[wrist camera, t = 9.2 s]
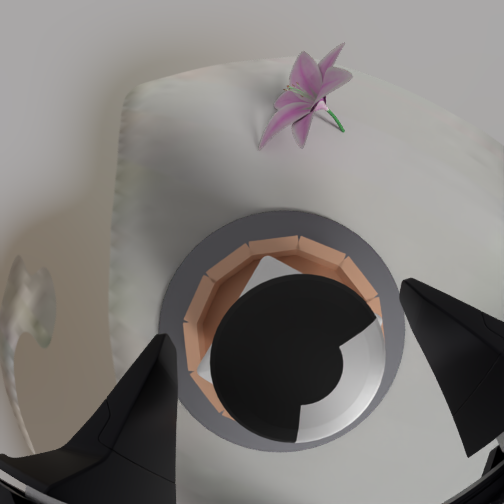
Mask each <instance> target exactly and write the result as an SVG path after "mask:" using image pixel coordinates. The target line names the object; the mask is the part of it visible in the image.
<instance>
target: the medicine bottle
mask: <svg viewBox="0 0 504 504" xmlns="http://www.w3.org/2000/svg"><path fill="white" fill-rule="evenodd" d="M381 325H382V318H381V317H380V316H379V315H378V314H376V313H374V312H373V311H372V309H371V307H370V306H369V305H368V304H367V303H366V301H365V300H364V299H363V298H362V297H361V296H360V295H358V294H357V293H356V292H355V291H354V290H352V289H351V288H349V287H348V286H346V285H344V284H342V283H340V282H338V281H336V280H334V279H331V278H327V277H324V276H320V275H313V274H303V273H301V272H299V271H297V270H295V269H293V268H292V267H290V266H288V265H286V264H284V263H282V262H281V261H279V260H277V259H275V258H273V257H271V256H265V257H263V258H262V259H261V261H260V262H259V264H258V266H257V268H256V269H255V271H254V273H253V275H252V276H251V278H250V280H249V281H248V283H247V285H246V286H245V288H244V290H243V292H242V293H241V295H240V297H239V298H238V300H237V301H236V302H235V303H234V304H233V305H232V306H231V307H230V308H229V310H228V311H227V312H226V314H225V315H224V316H223V318H222V320H221V322H220V324H219V325H218V327H217V330H216V333H215V335H214V338H213V342H212V344H211V346H210V347H209V349H208V351H207V352H206V354H205V356H204V357H203V359H202V361H201V362H200V364H199V366H198V368H197V373H198V375H199V376H200V377H202V378H204V379H205V380H207V381H208V382H210V383H212V384H213V387H214V389H215V392H216V394H217V397H218V398H219V400H220V402H221V404H222V405H223V407H224V408H225V410H226V411H227V412H228V413H229V415H230V416H231V417H232V418H233V419H234V420H235V421H236V422H238V423H239V424H240V425H241V426H243V427H244V428H245V429H247V430H248V431H250V432H252V433H254V434H256V435H258V436H260V437H263V438H266V439H269V440H273V441H278V442H285V443H302V442H310V441H315V440H319V439H322V438H325V437H328V436H330V435H332V434H334V433H336V432H338V431H340V430H342V429H343V428H345V427H346V426H348V425H349V424H351V423H352V422H353V421H354V420H355V419H357V418H358V417H359V416H360V415H361V414H362V413H363V411H364V410H365V409H366V408H367V407H368V405H369V404H370V402H371V401H372V399H373V398H374V396H375V394H376V392H377V390H378V388H379V386H380V383H381V380H382V377H383V373H384V367H385V357H386V349H385V341H384V336H383V332H382V329H381Z"/></svg>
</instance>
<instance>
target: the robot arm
mask: <svg viewBox="0 0 504 504" xmlns="http://www.w3.org/2000/svg"><path fill="white" fill-rule="evenodd" d="M399 300H400V303H401V305H402V308H403V310H404V312H405V315H406V317H407V319H408V322H409V324H410V327H411V329H412V331H413V333H414V335H415V337H416V339H417V341H418V343H419V345H420V347H421V349H422V351H423V353H424V355H425V357H426V359H427V361H428V363H429V365H430V367H431V369H432V371H433V373H434V375H435V377H436V379H437V381H438V384H439V386H440V388H441V390H442V392H443V395H444V397H445V399H446V402H447V404H448V406H449V409H450V411H451V414H452V416H453V419H454V421H455V424H456V427H457V429H458V432H459V435H460V437H461V440H462V443H463V446H464V449H465V452H466V455H467V457H468V458H469V457H470V456H472V455H473V454H475V453H476V452H478V451H479V450H481V449H482V448H483V447H485V446H486V445H487V444H489V443H490V442H491V441H493V440H494V439H495V438H496V439H497V441H498V443H499V445H498V446H497V447H495V448H494V449H493V450H492V451H490V453H489V456H488V460H487V463H486V466H485V468H484V471H483V474H482V477H481V478H480V479H479V480H477V481H476V482H475V483H473V484H472V485H470V486H469V487H467V488H466V489H464V490H463V491H461V492H460V493H458V494H457V495H455V496H454V497H452V498H450V499H449V500H447V501H445V502H444V503H442V504H504V322H503V321H500V320H498V319H496V318H494V317H492V316H490V315H488V314H486V313H484V312H481V311H480V310H478V309H476V308H474V307H472V306H470V305H468V304H466V303H464V302H462V301H460V300H458V299H456V298H454V297H452V296H450V295H448V294H446V293H444V292H442V291H439V290H437V289H435V288H433V287H431V286H429V285H427V284H425V283H422V282H420V281H418V280H416V279H414V278H408V279H405V280H403V281H402V283H401V289H400V295H399ZM177 401H178V371H177V351H176V347H175V345H174V344H173V342H172V340H171V339H170V337H169V335H168V334H167V333H162V334H157V335H156V336H155V337H154V338H153V339H152V340H151V342H150V343H149V344H148V345H147V347H146V348H145V349H144V350H143V352H142V353H141V354H140V356H139V357H138V358H137V359H136V361H135V362H134V363H133V364H132V366H131V367H130V368H129V369H128V371H127V372H126V373H125V375H124V376H123V377H122V378H121V380H120V381H119V382H118V384H117V385H116V386H115V387H114V389H113V390H112V391H111V393H110V394H109V395H108V396H107V399H105V400H104V402H103V403H102V404H101V406H100V407H99V408H98V409H97V411H96V412H95V413H94V414H93V416H92V417H91V418H90V419H89V420H88V421H87V422H86V423H85V424H84V426H83V427H82V428H81V429H80V430H79V431H78V432H77V433H76V434H75V435H74V436H73V437H72V439H71V440H70V441H69V442H68V443H67V444H65V445H64V446H63V447H61V448H59V449H56V450H53V451H49V452H45V453H40V454H35V455H31V456H26V457H20V458H11V457H8V456H7V455H5V454H0V469H1V470H3V471H4V472H6V473H8V474H9V475H11V476H12V477H14V478H15V479H17V480H19V481H20V482H22V483H24V484H26V491H25V492H24V491H22V490H20V489H19V488H17V487H15V486H13V485H11V484H9V483H7V482H6V481H4V480H2V479H1V478H0V504H176V484H175V459H176V421H177Z"/></svg>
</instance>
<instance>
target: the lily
mask: <svg viewBox="0 0 504 504" xmlns="http://www.w3.org/2000/svg"><path fill="white" fill-rule="evenodd" d="M344 44H345V43H342V44H340V45H339V46H337V47H336V48H334V49H333V50H332V51H330V52H329V53H328V54H327V55H326V56H325V57H324V58H323V59H322V60H321V61H320V62H319V64H318V65H317V63H316V62H315V61H314V59H313V58H312V57H311V56H310V55H309V54H307V53H306V52H305V51H303V52H301V53H300V55H299V56H298V58H297V59H296V61H295V63H294V65H293V68H292V70H291V74H290V78H289V85H290V86H289V85H288V86H287V87H289V89H283V90H286V91H285V92H284V93H282V94H281V95H280V96H279V97H278V98H277V100H276V101H275V103H274V107H275V108H276V109H277V110H278V111H277V112H276V113H275V114H274V115H273V117H272V118H271V120H270V121H269V123H268V125H267V127H266V129H265V131H264V133H263V136H262V138H261V141H260V144H259V150H261V149H262V148H263V147H264V146H265V145H266V143H267V142H268V141H269V140H270V139H272V138H273V137H274V136H275V135H276V134H277V133H278V132H280V131H281V130H282V129H284V128H285V127H287V126H288V125H290V124H292V123H293V122H294V123H293V124H292V133H293V136H294V138H295V141H296V143H297V145H298V146H299V147H300V148H301V149H303V147H304V145H305V142H306V139H307V135H308V132H309V128H310V125H311V121H312V118H313V115H314V112H315V111H317V110H320V109H324V110H326V111H327V112H328V113H329V114H330V115H331V116H332V117H333V118H334V120H335V121H336V123H337V124H338V126H339V127H340V129H341V131H342V132H345V130H344V129H343V127H342V125H341V124H340V122H339V120H338V119H337V117H336V116H335V115H334V114H333V113H332V112H331V111H330V109H329V108H328V107H327V106H326V95H327V94H329V93H331V92H332V91H334V90H336V89H337V88H339V87H341V86H343V85H344V84H346V83H347V82H349V81H350V80H351V79H352V78H353V76H352V74H351V73H350V72H348V71H346V70H344V69H341V68H337V67H333V65H334V63H335V61H336V59H337V57H338V55H339V53H340V51H341V50H342V48H343V46H344ZM310 112H311V113H310Z"/></svg>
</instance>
